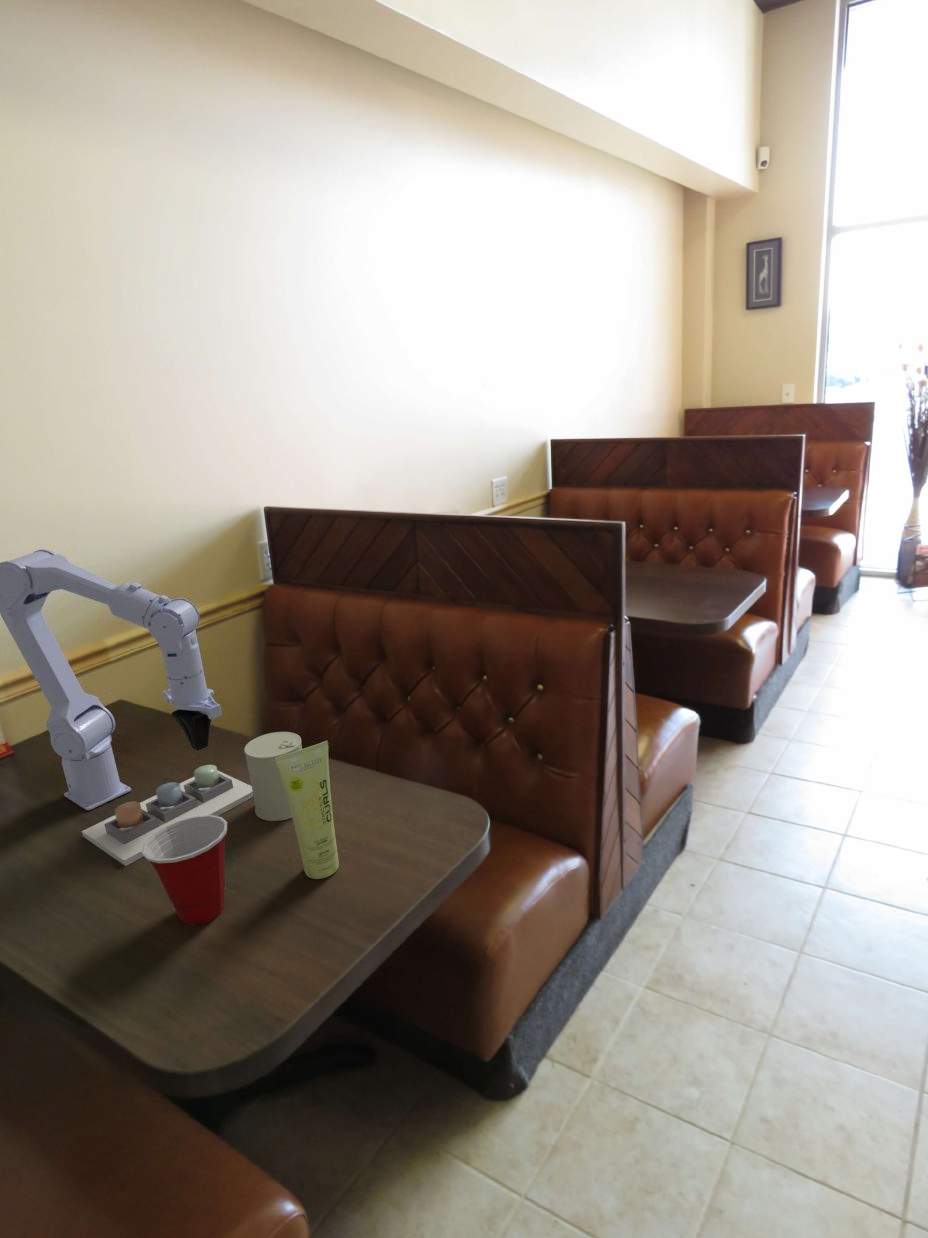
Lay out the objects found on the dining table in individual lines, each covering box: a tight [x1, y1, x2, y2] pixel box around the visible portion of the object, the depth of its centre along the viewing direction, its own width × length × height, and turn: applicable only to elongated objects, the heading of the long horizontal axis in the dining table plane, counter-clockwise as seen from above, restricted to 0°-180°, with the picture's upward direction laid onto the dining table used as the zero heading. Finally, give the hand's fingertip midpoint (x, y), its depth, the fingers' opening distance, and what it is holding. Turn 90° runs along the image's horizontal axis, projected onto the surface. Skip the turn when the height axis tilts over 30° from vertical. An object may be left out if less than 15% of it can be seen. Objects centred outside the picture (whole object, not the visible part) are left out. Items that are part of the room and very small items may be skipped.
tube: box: [275, 740, 340, 880], centre depth 104 cm, size 6×5×20 cm
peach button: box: [114, 800, 143, 828], centre depth 119 cm, size 4×4×2 cm
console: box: [81, 769, 254, 867], centre depth 125 cm, size 14×24×3 cm, turn 141°
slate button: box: [155, 781, 183, 807], centre depth 124 cm, size 4×4×2 cm
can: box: [243, 731, 303, 822], centre depth 123 cm, size 9×9×12 cm
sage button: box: [193, 764, 219, 788], centre depth 129 cm, size 4×4×2 cm
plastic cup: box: [141, 815, 228, 926], centre depth 99 cm, size 11×11×12 cm
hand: (200, 747), depth 127 cm, fingers closed
